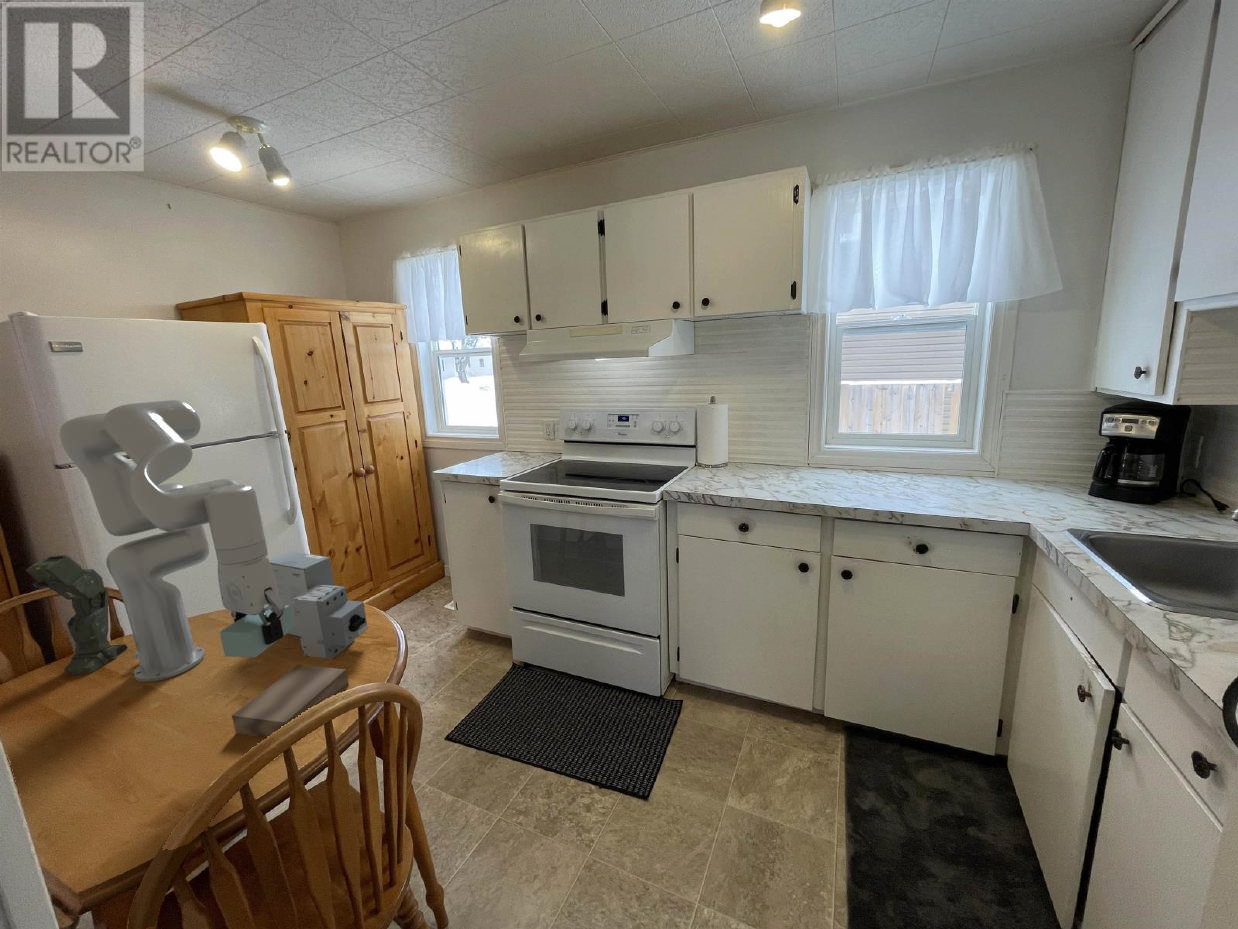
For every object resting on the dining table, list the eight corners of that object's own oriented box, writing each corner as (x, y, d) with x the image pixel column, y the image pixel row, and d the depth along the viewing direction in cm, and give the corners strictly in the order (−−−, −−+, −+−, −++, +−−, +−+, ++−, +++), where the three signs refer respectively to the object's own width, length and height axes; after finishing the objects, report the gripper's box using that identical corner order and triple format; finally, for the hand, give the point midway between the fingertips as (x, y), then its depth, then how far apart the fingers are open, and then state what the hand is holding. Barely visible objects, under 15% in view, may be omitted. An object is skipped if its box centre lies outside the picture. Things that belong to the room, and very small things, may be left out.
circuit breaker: (355, 661, 119) (345, 603, 116) (303, 655, 122) (292, 599, 118) (375, 643, 126) (367, 588, 123) (326, 638, 129) (316, 584, 126)
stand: (235, 733, 97) (231, 715, 96) (301, 680, 112) (298, 664, 112) (289, 740, 95) (285, 722, 94) (348, 685, 110) (345, 669, 109)
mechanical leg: (114, 638, 130) (54, 543, 117) (144, 636, 131) (88, 541, 117) (67, 682, 118) (-6, 582, 105) (100, 680, 119) (32, 580, 105)
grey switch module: (343, 627, 134) (331, 557, 130) (317, 642, 127) (303, 569, 123) (303, 617, 140) (290, 550, 135) (276, 631, 133) (261, 561, 128)
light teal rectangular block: (255, 657, 93) (250, 632, 91) (225, 656, 93) (219, 632, 92) (294, 627, 102) (289, 605, 101) (266, 627, 103) (261, 605, 102)
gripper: (190, 553, 93) (211, 639, 97) (252, 565, 87) (272, 657, 91) (233, 539, 100) (250, 620, 104) (294, 549, 94) (310, 635, 98)
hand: (260, 636), depth 98 cm, fingers closed on light teal rectangular block, 7 cm apart
